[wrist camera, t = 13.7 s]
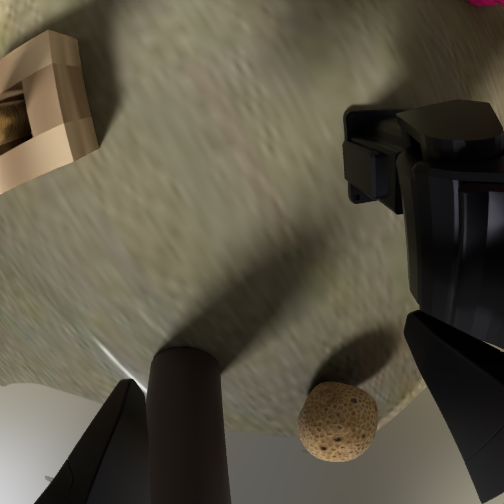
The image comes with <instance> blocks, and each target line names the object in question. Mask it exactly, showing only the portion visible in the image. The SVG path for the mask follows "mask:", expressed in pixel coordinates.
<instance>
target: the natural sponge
mask: <svg viewBox="0 0 504 504" xmlns="http://www.w3.org/2000/svg"><path fill="white" fill-rule="evenodd" d="M378 413H379V409H378V406H377V403H376V401H375V400H374V399H373V397H372V396H370V395H369V394H368V393H367V392H365V391H364V390H362V389H360V388H358V387H355V386H352V385H347V384H343V383H338V382H322V383H320V384H318V385H317V386H315V387H314V389H313V390H312V391H311V392H310V394H309V396H308V398H307V400H306V401H305V404H304V406H303V408H302V410H301V412H300V414H299V416H298V419H297V432H298V435H299V437H300V439H301V441H302V443H303V445H304V447H305V448H306V449H307V450H308V452H310V453H311V454H312V455H314V456H315V457H317V458H319V459H322V460H325V461H333V462H343V461H348V460H352V459H354V458H356V457H358V456H359V455H361V454H362V453H363V452H364V451H365V450H366V449H367V448H368V447H369V446H370V444H371V442H372V441H373V438H374V436H375V433H376V430H377V424H378Z"/></svg>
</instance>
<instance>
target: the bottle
mask: <svg viewBox="0 0 504 504" xmlns="http://www.w3.org/2000/svg"><path fill="white" fill-rule="evenodd" d="M146 414H147V424H148V434H149V480H150V503H151V504H231V496H230V487H229V477H228V467H227V456H226V445H225V433H224V420H223V407H222V393H221V377H220V368H219V365H218V364H217V362H216V361H215V359H213V358H212V357H211V356H209V355H208V354H206V353H204V352H201V351H199V350H196V349H190V348H173V349H169V350H165V351H163V352H161V353H159V354H158V355H156V357H155V358H154V359H153V361H152V362H151V369H150V376H149V383H148V390H147V398H146Z"/></svg>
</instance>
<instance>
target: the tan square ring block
mask: <svg viewBox="0 0 504 504" xmlns="http://www.w3.org/2000/svg"><path fill="white" fill-rule="evenodd" d="M22 97H25V103H26V108H27V113H28V117H29V122H30V126H31V131H32V135H33V138H32V139H30V140H28V141H26V142H25V141H24V137H22V138H19V139H16V140H13V141H11V142H8V143H5V144H3V145H0V194H2V193H4V192H6V191H8V190H10V189H12V188H14V187H16V186H18V185H20V184H22V183H24V182H26V181H29V180H31V179H33V178H35V177H38V176H40V175H42V174H44V173H47V172H49V171H52V170H54V169H56V168H59V167H61V166H64V165H66V164H69V163H71V162H74V161H76V160H78V159H79V158H81V157H83V156H85V155H87V154H89V153H91V152H93V151H95V150H97V149H99V145H98V141H97V137H96V133H95V129H94V125H93V121H92V117H91V112H90V108H89V103H88V98H87V93H86V88H85V83H84V78H83V72H82V67H81V61H80V54H79V47H78V40H77V39H76V38H73V37H70V36H67V35H64V34H61V33H58V32H55V31H51V30H46V31H45V32H43V33H41V34H39V35H38V36H36V37H34V38H33V39H31V40H29V41H28V42H26V43H24V44H23V45H21V46H20V47H18V48H17V49H15V50H13V51H12V52H10V53H9V54H8V55H6V56H5V57H3V58H2V59H0V104H2V103H7V102H13V101H17V100H19V99H21V98H22Z"/></svg>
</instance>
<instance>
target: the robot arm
mask: <svg viewBox="0 0 504 504" xmlns="http://www.w3.org/2000/svg"><path fill="white" fill-rule="evenodd" d="M351 115H352V116H353V121H352V122H350V121H349V117H350V116H351ZM343 122H344V132H345V141H344V143H343V158H344V174H345V179H346V180H347V181H348V196H349V199H350V201H351V202H353V203H354V204H359V203H365V202H371V201H377V200H378V201H380V202H381V203H382V204H384V205H385V206H386V207H388V208H389V209H390V210H392V211H393V212H394V213H396V214H398V215H399V214H404V223H405V233H406V245H407V259H408V279H409V286H410V291H411V293H412V295H413V296H414V298H415V300H416V301H417V303H418V304H419V305H420V310H416V311H413V312H411V313H409V314H408V315H407V319H406V323H405V328H404V336H405V339H406V341H407V343H408V346H409V348H410V350H411V353H412V355H413V357H414V360H415V362H416V364H417V367H418V369H419V371H420V373H421V375H422V377H423V379H424V381H425V383H426V385H427V386H428V388H429V390H430V392H431V394H432V396H433V397H434V399H435V401H436V403H437V405H438V407H439V409H440V411H441V413H442V415H443V417H444V419H445V421H446V423H447V425H448V427H449V429H450V431H451V433H452V436H453V438H454V440H455V442H456V444H457V446H458V448H459V451H460V453H461V455H462V457H463V459H464V461H465V465H466V467H467V469H468V471H469V474H470V476H471V479H472V481H473V483H474V486H475V489H476V491H477V494H478V496H479V499H480V501H481V503H482V504H483V503H485V502H487V501H489V500H491V499H493V498H495V497H497V496H498V495H500V494H502V493H503V492H504V352H501V351H500V350H498V349H497V348H494V347H492V346H491V345H489V344H487V343H490V344H493V345H496V346H498V347H500V348H502V349H504V131H503V127H502V125H501V123H500V121H499V120H498V118H497V116H496V114H495V112H494V110H493V109H492V107H491V105H490V103H487V102H479V101H469V100H453V101H448V102H443V103H438V104H434V105H429V106H425V107H420V108H416V109H412V110H361V111H348V112H346V113H345V114H344V116H343ZM355 194H358V197H357V198H355V199H354V196H355ZM483 341H485V342H487V343H485V342H483ZM34 504H151V503H150V480H149V434H148V424H147V414H146V402H145V396H144V393H143V391H142V390H141V389H140V387H139V386H138V385H137V383H136V382H135V381H134V380H133V379H122V380H120V381H119V383H118V384H117V386H116V387H115V388H114V390H113V391H112V393H111V394H110V396H109V397H108V399H107V400H106V401H105V403H104V404H103V406H102V407H101V409H100V410H99V412H98V413H97V415H96V416H95V418H94V419H93V420H92V422H91V424H90V425H89V427H88V428H87V429H86V431H85V432H84V434H83V435H82V437H81V439H80V440H79V441H78V443H77V444H76V446H75V448H74V449H73V451H72V452H71V454H70V455H69V457H68V459H67V460H66V461H65V463H64V464H63V466H62V467H61V469H60V470H59V472H58V473H57V475H56V476H55V478H54V479H53V480H52V481H51V483H50V484H49V486H48V487H47V488H46V489H45V490H44V492H43V493H42V494H41V496H40V497H39V498H38V499H37V501H36V502H35V503H34Z"/></svg>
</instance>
